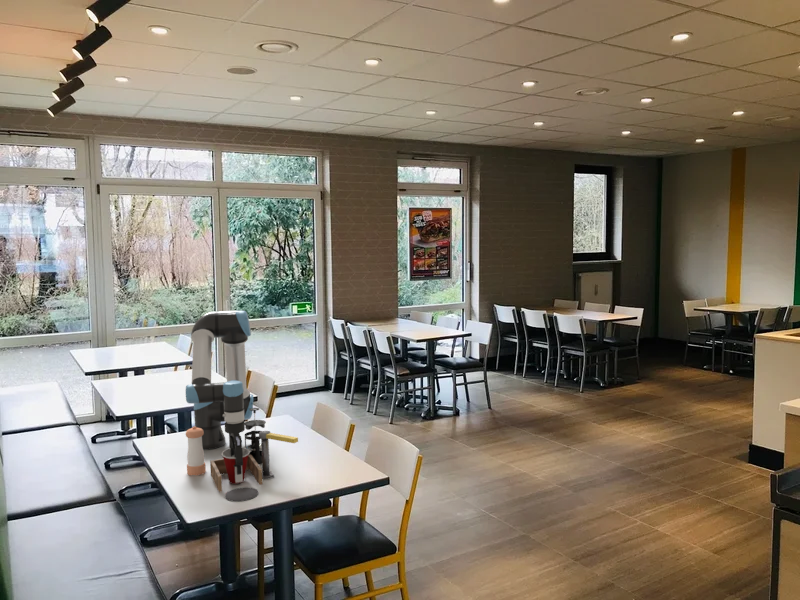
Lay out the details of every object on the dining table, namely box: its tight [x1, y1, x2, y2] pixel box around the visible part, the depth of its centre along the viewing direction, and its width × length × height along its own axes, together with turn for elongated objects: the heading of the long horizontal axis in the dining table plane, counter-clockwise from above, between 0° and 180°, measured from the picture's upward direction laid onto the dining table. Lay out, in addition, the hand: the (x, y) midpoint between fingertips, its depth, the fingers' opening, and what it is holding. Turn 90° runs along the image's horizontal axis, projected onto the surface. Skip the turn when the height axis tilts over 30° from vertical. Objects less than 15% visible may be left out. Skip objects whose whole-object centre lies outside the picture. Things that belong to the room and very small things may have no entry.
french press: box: [244, 407, 266, 465], centre depth 277 cm, size 12×9×23 cm
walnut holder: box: [209, 454, 263, 493], centre depth 255 cm, size 20×16×6 cm
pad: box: [224, 486, 259, 502], centre depth 240 cm, size 12×12×1 cm
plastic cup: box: [221, 447, 250, 485], centre depth 253 cm, size 11×11×12 cm
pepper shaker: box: [185, 425, 207, 476], centre depth 264 cm, size 7×7×19 cm
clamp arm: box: [258, 430, 299, 444], centre depth 253 cm, size 4×18×2 cm, turn 59°
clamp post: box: [260, 439, 275, 480], centre depth 258 cm, size 5×5×16 cm
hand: (236, 478), depth 253 cm, fingers closed on plastic cup, 8 cm apart
